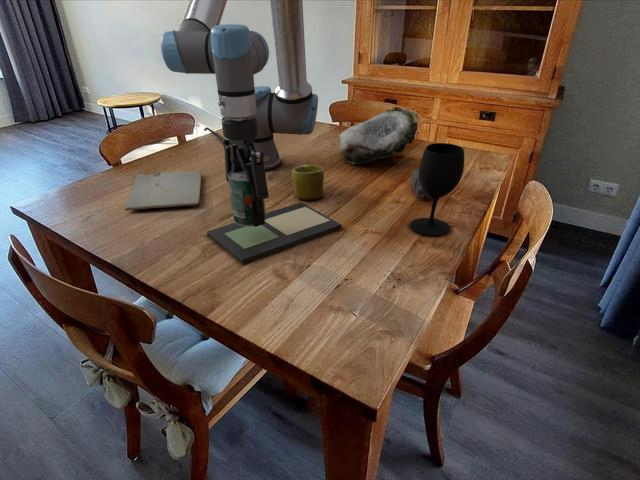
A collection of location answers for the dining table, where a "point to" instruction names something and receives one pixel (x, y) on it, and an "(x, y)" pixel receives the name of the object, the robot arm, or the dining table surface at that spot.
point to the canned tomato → (241, 198)
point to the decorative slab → (164, 190)
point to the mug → (308, 182)
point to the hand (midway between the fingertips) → (249, 218)
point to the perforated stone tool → (418, 186)
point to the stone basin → (379, 136)
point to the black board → (273, 232)
